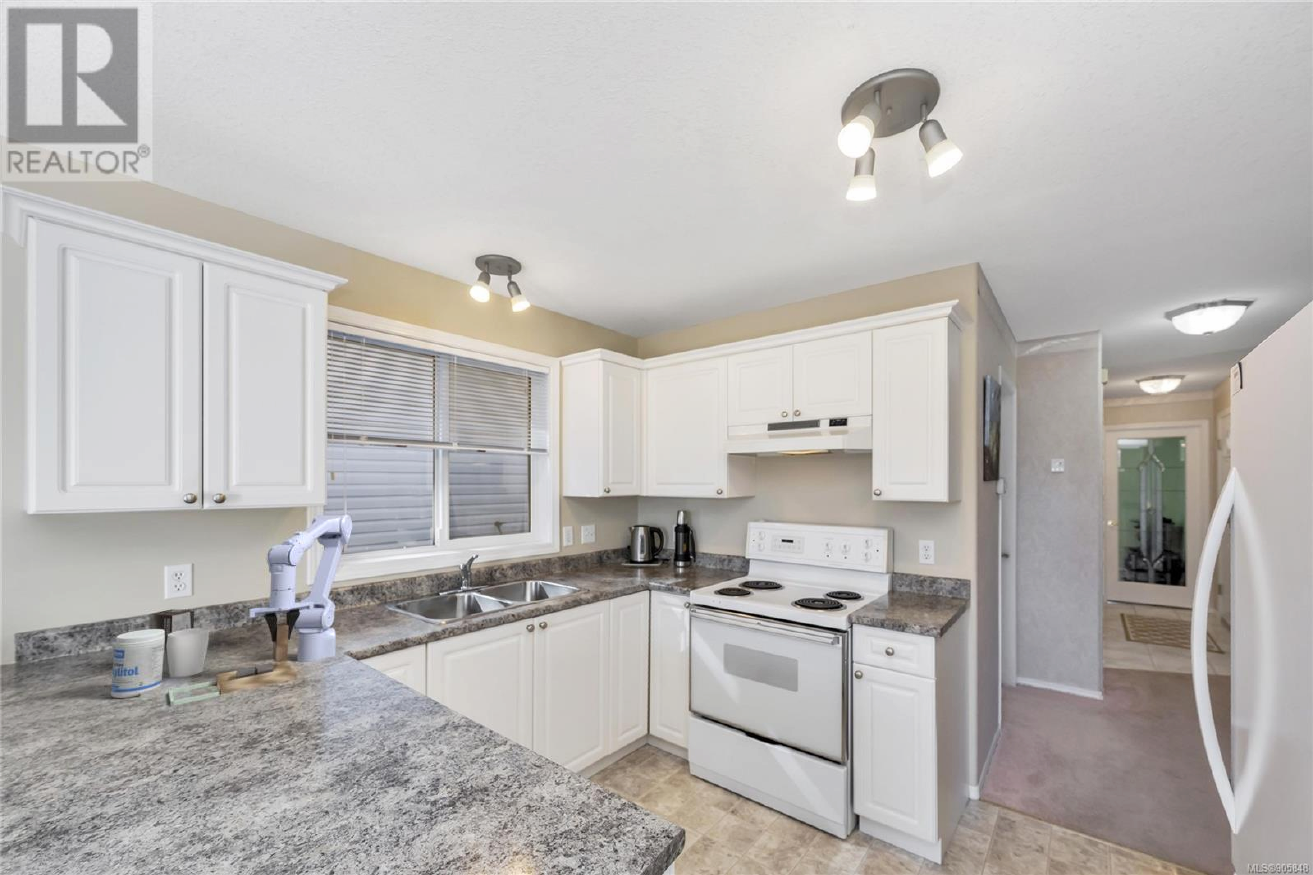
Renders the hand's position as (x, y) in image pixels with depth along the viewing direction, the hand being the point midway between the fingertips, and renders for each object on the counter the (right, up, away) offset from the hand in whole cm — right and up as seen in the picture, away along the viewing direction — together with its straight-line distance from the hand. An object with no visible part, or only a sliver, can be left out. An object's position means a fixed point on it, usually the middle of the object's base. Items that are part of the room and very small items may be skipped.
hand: (280, 640), depth 152 cm
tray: (-13, -10, -13) cm, 21 cm away
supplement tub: (-31, -10, -9) cm, 34 cm away
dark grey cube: (-5, -9, -6) cm, 12 cm away
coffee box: (-38, -12, +9) cm, 41 cm away
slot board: (-3, -10, -4) cm, 12 cm away
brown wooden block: (0, -5, 0) cm, 5 cm away
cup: (-28, -11, +3) cm, 30 cm away
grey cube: (-2, -9, -3) cm, 10 cm away
